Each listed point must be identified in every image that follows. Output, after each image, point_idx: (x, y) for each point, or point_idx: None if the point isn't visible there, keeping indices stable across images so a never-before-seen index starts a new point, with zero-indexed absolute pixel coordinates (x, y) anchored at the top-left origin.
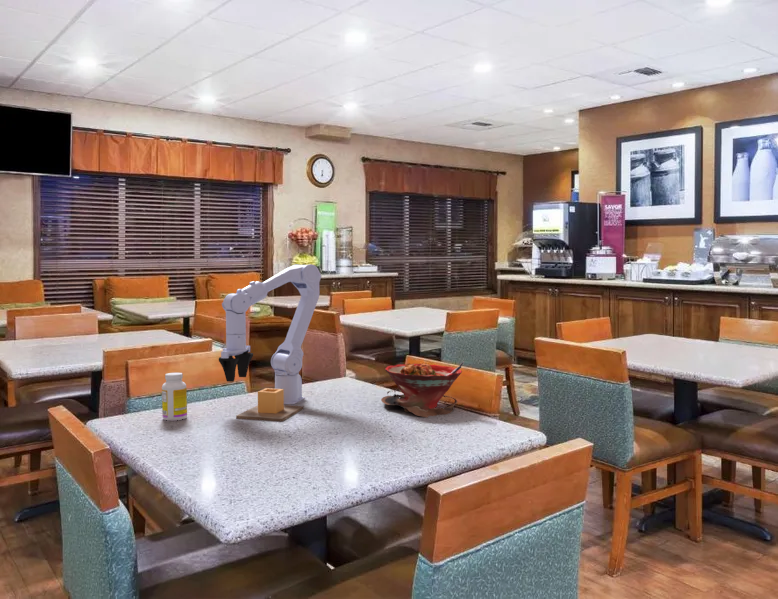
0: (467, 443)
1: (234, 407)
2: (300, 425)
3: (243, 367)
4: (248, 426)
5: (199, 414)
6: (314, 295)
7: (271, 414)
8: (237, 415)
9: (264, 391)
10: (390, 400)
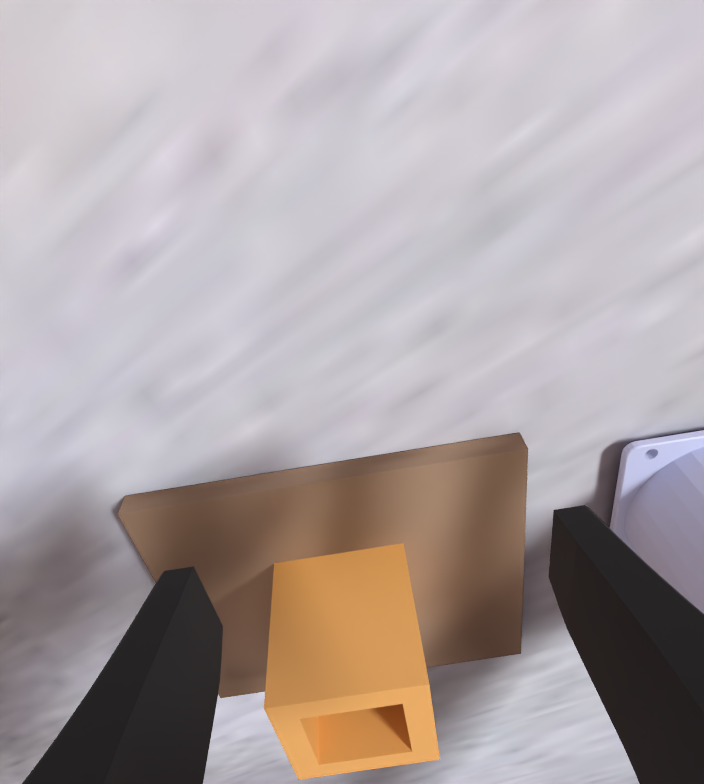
0: None
1: (448, 255)
2: (219, 737)
3: (631, 705)
4: (47, 622)
5: (32, 132)
6: None
7: (268, 634)
8: (124, 519)
9: (300, 729)
10: None
